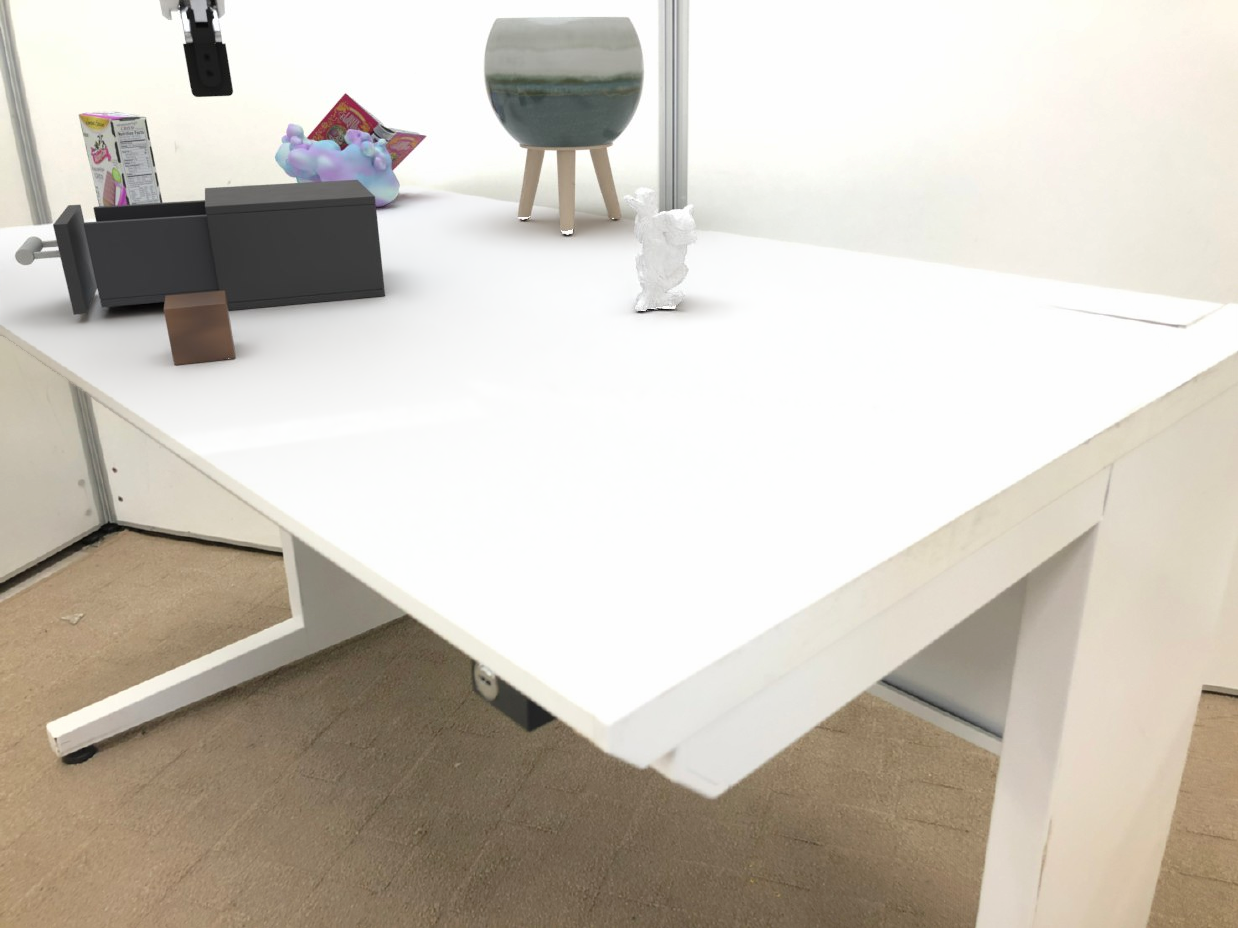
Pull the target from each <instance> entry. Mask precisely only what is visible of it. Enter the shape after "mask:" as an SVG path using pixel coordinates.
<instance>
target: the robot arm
mask: <svg viewBox="0 0 1238 928" xmlns="http://www.w3.org/2000/svg"><path fill="white" fill-rule="evenodd" d="M159 5H160V11H161V15H162V17H164V18H165V19H166V20H168V21H172V20H173V18H172V17H173V16H172V12H179V15H180V19H181V23H182V30H183V34H184V40H185V43H182V46H183V53H184V58H185V63H186V70H187V75H188V79H189V80H188V82H189V85H190V91H191V94H192V96H194V97H196V98H208V97H210V98H212V97H230V96H232V95H233V93H234V88H233V80H232V76H231V69H230V62H229V57H228V51H227V44H226V43H223V38H222V30H221V26H220V25H221V24H220V21H219V19H221V18H222V17H223V16H225V13H226V11H225V9H226V8H225V7H226V6H225V0H159Z"/></svg>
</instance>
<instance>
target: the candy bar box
mask: <svg viewBox="0 0 1238 928" xmlns="http://www.w3.org/2000/svg"><path fill="white" fill-rule="evenodd" d="M78 119H79V122H80V128H81V132H82V136H83V142H84V145H85V150H86V154H87V158H88V163H89V167H90V172H91V175H92V180H93V185H94V190H95V194H96V199H97V203H98V206H115V205H131V204H148V203H163V198H162V193H161V187H160V182H159V178H158V172H157V168H156V167H157V166H156V163H155V156H154V153H153V146H152V142H151V137H150V132H149V126H148V121H147V117H146V116H144V115H140V114H132V113H131V114H130V113H125V112H119V111H113V110H111V111H94V112H93V111H92V112H84V113H83V112H82V113H79V114H78Z"/></svg>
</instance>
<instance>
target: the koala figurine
mask: <svg viewBox="0 0 1238 928" xmlns="http://www.w3.org/2000/svg"><path fill="white" fill-rule="evenodd" d="M622 198H623V201H624V202H625V203H626V204H627V205H628V206H629V207H630V208H632V209H633V210H634V212H636V215H635V218H634V236H635V238H636V240H637V241H638V243H641V244H642V248H641V251H639V252H637V253H636V256H635V268H636V270H637V271H636V272H637V279H638V282H639V286H640V287H641V288H642V291H641V292H639V293H637V294H636V296H635V301H636V304H635V307H634V311H636V310H638V311H641V310H647V309H651V308H656V307H663V306H669V307H670V306H671V307H672V306H675V305H677V306H679V304H680V303H681V302H682V301H683V300H684V299H685V298H686V293H685V291H684V290H677V291H674V292H669V291H670V290H672V289H674V288H675V287H677V286H680V284H681V283H683V281H684V280H685V279H686V277H687V275H688V273H689V268H688V266H687V264H685V260H686V256H687V254H688V246H691V245H692V244H695V243H696V241H697V240H698V237H697V234H696V232H695V230H696V228H697V224H696V220H695V219H694V217H693V214H694V213H693V212H694V210H695V209H694V208H695V206H694V205H693V204H688V205H686V206H684V207H683V208H682V209H681V208H675V209H671V210H662V211H660V212H659V206H658V202H657V201H658V200H657V193H656V191H654V189H652V188H647V187H643V186H641V187H638V188H637V189H636V190H635V191H634V197H633V196H632V195H630V194H626V195H624V196H623V197H622ZM638 311H637V312H638ZM647 311H648V310H647Z"/></svg>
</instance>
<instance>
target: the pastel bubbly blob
mask: <svg viewBox="0 0 1238 928" xmlns="http://www.w3.org/2000/svg"><path fill="white" fill-rule="evenodd" d="M285 133H286V134H285V135H283V136H282V137H281V144H280V146H279V147H278V149H277V150H276V153H275V155H274V159H275V162H276V163H277V164H278V166H279V167H280V168H281V169H282V170H283V171H284V173H285V174H286V175H287V176H289V177H290V178H294V179H295V180H296V183H306V182H324V181H342V180H358V181H359V182H360V183H362V184H363V185H364V186H365V187H366V188H367V189H368V190H369V191H370V192H371V193H372V194H373V195H374V196H375V202H376V203H375V204H376V208H380V207H384V206H385V205H388V204H390V203H392V202H393V201H395V199H396V198H397V196H398V195H399V191H400V186H401V184H400V181H399V179H398V178H397V175H396V174H395V172H394V170H395V169H396V168H397V167H398V166H399V165H401V163H402V162H404V160H405V159H406V158H407V157H408V156H409V155H410V154H411V153H412V152H413V151H414V150H415V149H416V148H417V147H418V146H419V145H420V144H421V143H422V142H423V141H424V140H425V139H426V138H427V134H426V135H424V134H420V133H419V132H417V131H410V130H404V129H399V128H393V127H386V126H385V124H384V123H383V122H382V121H381V120H380V119H379V118H377V117H376V116H375V115H374V114H372V113H371V112H370V111H368V109H366V108H365V107H363V106H362V105H361V104H359V102H357V100H355V99H354V98H353V97H351V96H350V95H349V94H348V93H347V92H345V93H344V94H343V95H342V96H341V97H340V99H339V100H338V101H337V102H336V103H335V104H334V105H333V106H332V108H331V109H330V110H329V111H328V113H327V114H326V115H325V116H324V117H323V118H322V119H321V121H320V122H319V123H318V124H317V125H316V126H315V127H314V129H313V130H312V131H311V132H310V133H309V135H307V136H306V135H305V131H304V129H303V127H302V126H301V125H300V124H294V123H289V124H288V125H287V127H286V132H285Z"/></svg>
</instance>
